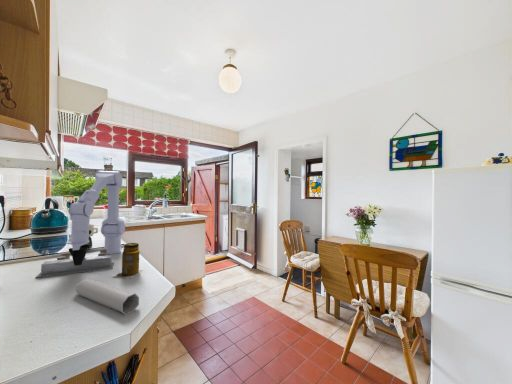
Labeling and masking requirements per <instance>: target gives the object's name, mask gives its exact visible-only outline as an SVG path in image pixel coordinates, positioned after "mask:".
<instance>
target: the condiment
mask: <svg viewBox="0 0 512 384" xmlns="http://www.w3.org/2000/svg"><path fill="white" fill-rule="evenodd" d="M139 245H140V244H139V243H138V242H129V243H125V244H124V245H123V251H122V252H121V253H122V254H121V256H122V258H121V259H122V260H121V272H119V273H118V274H115V275H114V276H113V278H118V279H132V278H133V277H135V276H137V275H140V273H142V272H143V271H144V269H140V248H139V247H140V246H139Z"/></svg>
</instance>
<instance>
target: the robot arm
mask: <svg viewBox="0 0 512 384" xmlns="http://www.w3.org/2000/svg"><path fill="white" fill-rule="evenodd" d="M122 186H123V175H122V174H121V172H120V171H118V170H117V171H112V170H111V171H110V170H109V171H108V170H98V171H97V172H96V173H95V181H94V182H93V184H92V186H91V187H90V188H89V189H86V190H84V191H83V193H82V194H81V195H80V197H79V199H77V201H75V202H73V203H71V204H70V205H69V207H68V209H67V210H68V214H69V217H70V220H71V231H70V232H71V234H70V235H71V238H70V241H67V243H66V245H71V246H72V247H70V248H68V252H70V255H71V257H72V258H71V259H73V262H74V265H75V266H76V265H81V264H82V261H83V258H86V253H87V251H88V247H89V245H90V244H87V243H89V224H90V221H91V220H90V217H91V215H92V214H93V212H94V208H95V205H96V202H97V201H98V200H99V198H100V194H99V193H100V192H101V191H102V190H103V189H104V188H105V187H106V188H107V216H106V217H107V218H106V219H104V220H103V221H102V223H101V228H100V233H101V235H103V237H104V249H107V255H115V254H121V253H122V248H123V247H121V246H122V243H121V242H122V236H123V235H124V233H125V232H126V225H125V221H124V220H123V219H122V218H120V217H119V216H120V215H119V213H120V209H119V208H120V188H121V187H122ZM89 248H90V247H89Z"/></svg>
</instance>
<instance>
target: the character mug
mask: <svg viewBox="0 0 512 384" xmlns="http://www.w3.org/2000/svg"><path fill="white" fill-rule="evenodd" d="M94 230H95V231H94ZM98 231H99V229H98V227H95V225H94V224H92V223H91V224H90V223H89V243H87V244H90V245H89V248H92V247H93V241H92V240H93V239H92V237H93V236H94V234H98Z"/></svg>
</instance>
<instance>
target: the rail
mask: <svg viewBox="0 0 512 384" xmlns="http://www.w3.org/2000/svg"><path fill="white" fill-rule="evenodd" d="M111 263H112V254H107V255H106V256H98V255H97V256H88V257H86V256H85V258H83V261H82V264H81V265H76V266H75V265H74V262H73V258H70V259H65V260H57V259H56V260H47V261H43V263H42V264H41V266H40V273H41V275H45V274H53V273H61V272H70V271H78V270H86V269H95V268H103V267H110V266H111Z"/></svg>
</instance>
